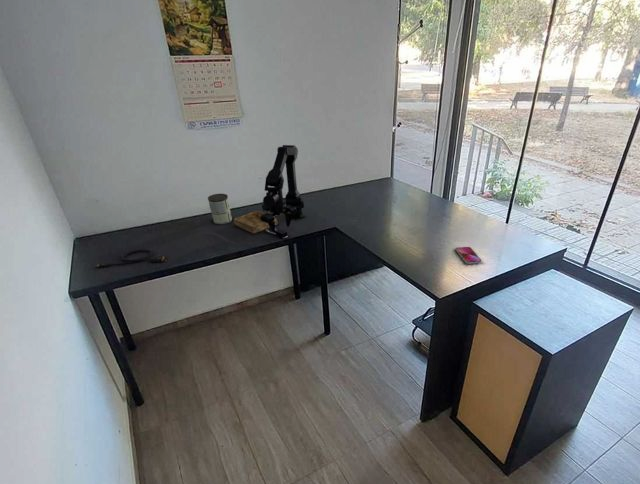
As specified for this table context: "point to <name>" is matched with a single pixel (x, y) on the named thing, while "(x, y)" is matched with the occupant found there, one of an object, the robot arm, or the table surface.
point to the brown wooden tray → (252, 222)
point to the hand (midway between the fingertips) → (280, 229)
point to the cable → (154, 259)
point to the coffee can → (220, 208)
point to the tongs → (278, 233)
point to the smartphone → (468, 255)
